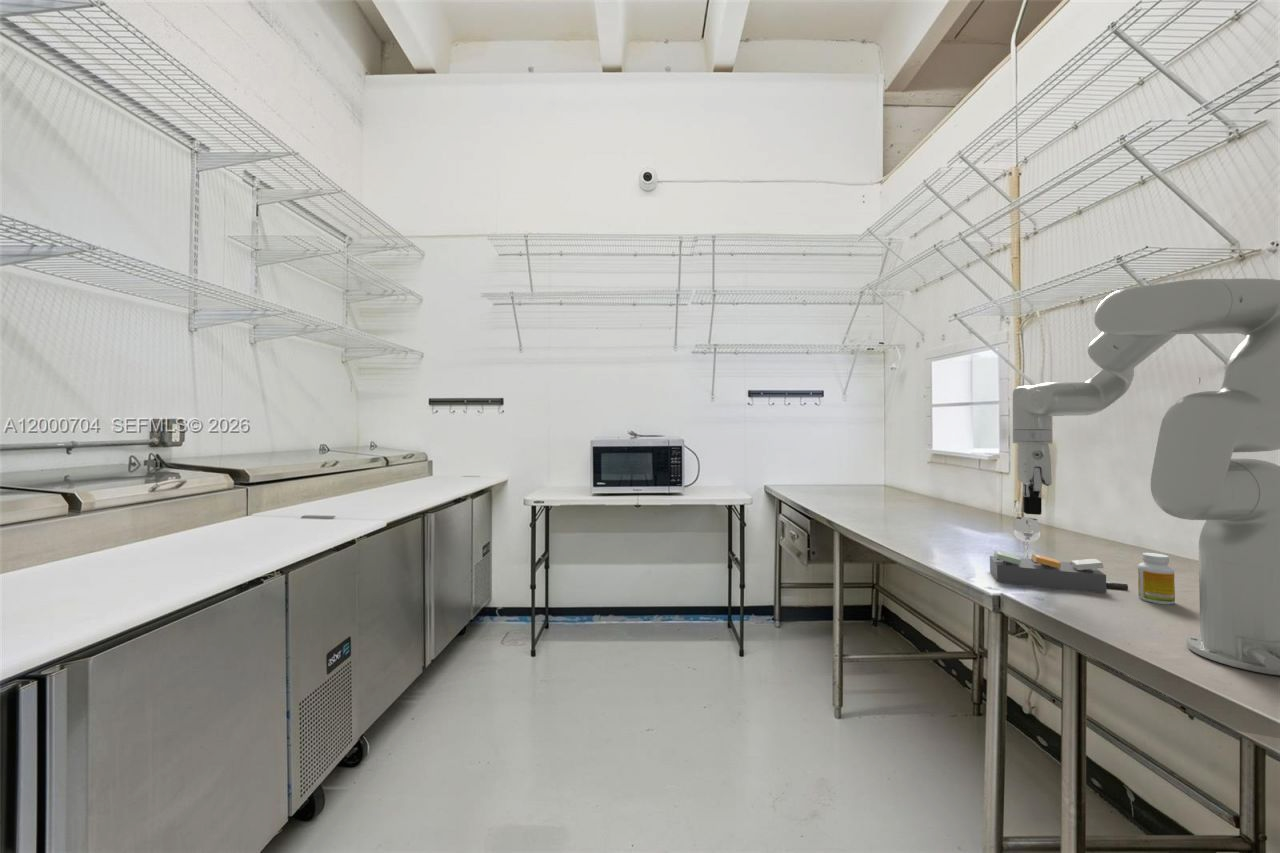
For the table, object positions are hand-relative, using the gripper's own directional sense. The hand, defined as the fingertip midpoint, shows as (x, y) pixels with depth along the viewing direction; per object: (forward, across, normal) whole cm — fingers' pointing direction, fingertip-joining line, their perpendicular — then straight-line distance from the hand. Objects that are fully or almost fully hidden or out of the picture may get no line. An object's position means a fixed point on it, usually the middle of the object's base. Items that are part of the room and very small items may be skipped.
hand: (1032, 513), depth 120 cm
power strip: (+16, +1, -5) cm, 17 cm away
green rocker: (+11, -1, +5) cm, 12 cm away
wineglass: (+17, +20, -3) cm, 26 cm away
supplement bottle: (+16, -6, -20) cm, 26 cm away
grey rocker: (+11, -1, -10) cm, 15 cm away
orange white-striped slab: (+11, -1, -2) cm, 11 cm away
